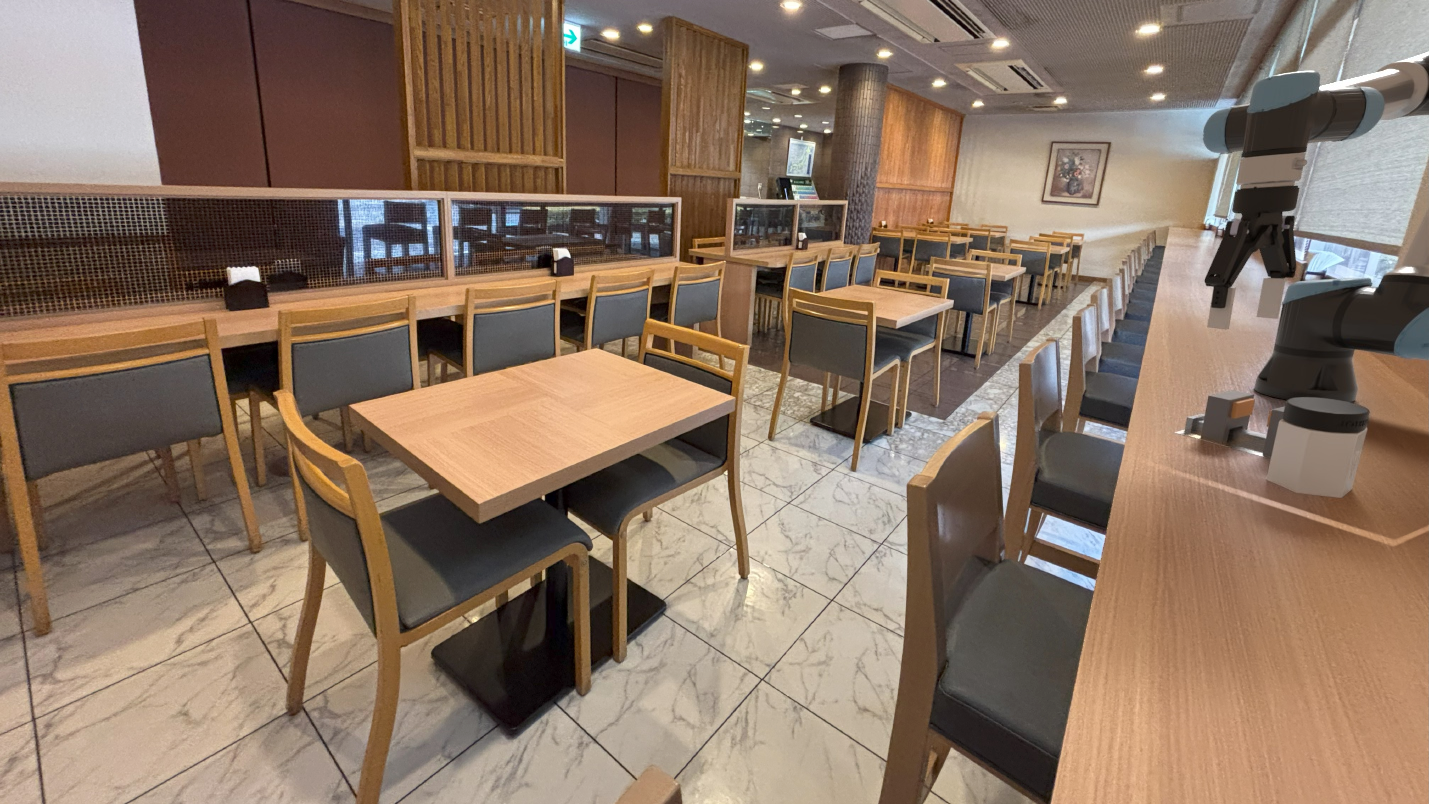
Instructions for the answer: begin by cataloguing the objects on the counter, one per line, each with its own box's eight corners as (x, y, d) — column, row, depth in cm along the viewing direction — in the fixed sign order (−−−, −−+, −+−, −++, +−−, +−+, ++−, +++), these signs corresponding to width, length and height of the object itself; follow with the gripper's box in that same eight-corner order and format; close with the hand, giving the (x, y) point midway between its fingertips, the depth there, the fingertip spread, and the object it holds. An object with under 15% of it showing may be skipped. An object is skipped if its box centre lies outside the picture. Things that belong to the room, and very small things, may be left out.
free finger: (1200, 436, 105) (1208, 395, 103) (1224, 430, 107) (1232, 389, 105) (1226, 443, 101) (1235, 401, 99) (1250, 436, 103) (1259, 395, 101)
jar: (1337, 507, 81) (1359, 419, 77) (1258, 487, 87) (1275, 405, 84) (1357, 489, 85) (1380, 405, 82) (1281, 471, 92) (1298, 393, 88)
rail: (1206, 427, 111) (1209, 411, 110) (1352, 464, 93) (1357, 445, 92) (1173, 435, 107) (1176, 419, 107) (1318, 475, 90) (1322, 456, 89)
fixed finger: (1311, 452, 96) (1322, 408, 94) (1287, 460, 94) (1297, 414, 92) (1281, 445, 100) (1291, 402, 98) (1257, 452, 97) (1266, 408, 95)
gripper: (1247, 187, 87) (1223, 336, 93) (1342, 180, 97) (1314, 315, 103) (1190, 191, 94) (1170, 329, 100) (1283, 183, 103) (1260, 311, 109)
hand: (1243, 323), depth 101 cm, fingers open, 13 cm apart
